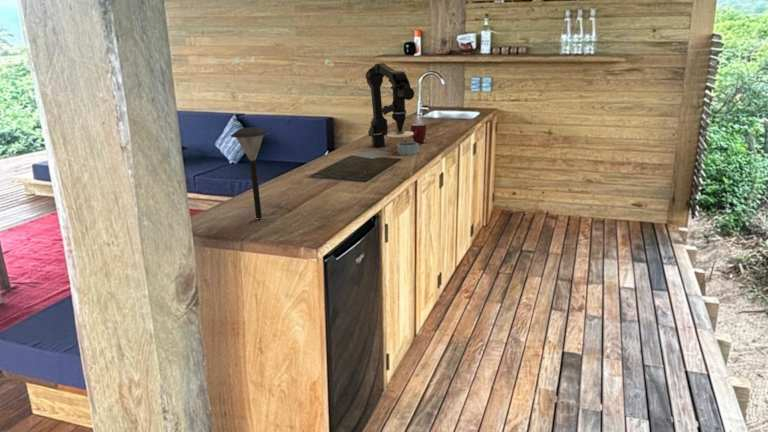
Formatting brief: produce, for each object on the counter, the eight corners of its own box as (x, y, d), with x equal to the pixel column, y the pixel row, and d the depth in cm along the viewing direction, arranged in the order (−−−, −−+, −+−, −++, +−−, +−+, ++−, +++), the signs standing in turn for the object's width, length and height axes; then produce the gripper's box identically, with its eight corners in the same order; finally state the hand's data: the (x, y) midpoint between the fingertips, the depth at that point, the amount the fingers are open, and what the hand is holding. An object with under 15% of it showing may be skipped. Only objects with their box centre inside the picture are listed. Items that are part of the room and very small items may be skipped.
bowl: (393, 154, 295) (392, 144, 294) (408, 151, 302) (408, 141, 300) (407, 156, 288) (407, 146, 286) (422, 153, 295) (422, 143, 293)
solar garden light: (278, 222, 194) (269, 130, 185) (239, 226, 192) (228, 133, 183) (277, 212, 205) (268, 124, 197) (240, 216, 203) (229, 127, 194)
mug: (424, 145, 316) (423, 126, 313) (409, 145, 318) (408, 126, 315) (427, 141, 325) (427, 123, 323) (413, 141, 327) (412, 123, 325)
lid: (381, 135, 293) (380, 125, 291) (400, 132, 301) (400, 122, 299) (399, 137, 283) (399, 127, 282) (419, 134, 291) (418, 124, 290)
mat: (350, 156, 296) (350, 154, 296) (374, 151, 306) (374, 149, 306) (372, 159, 285) (372, 158, 285) (396, 154, 295) (396, 153, 295)
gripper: (383, 97, 297) (384, 129, 301) (380, 101, 279) (382, 134, 283) (405, 96, 296) (407, 128, 300) (404, 100, 278) (405, 133, 282)
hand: (400, 131), depth 291 cm, fingers closed on lid, 4 cm apart
